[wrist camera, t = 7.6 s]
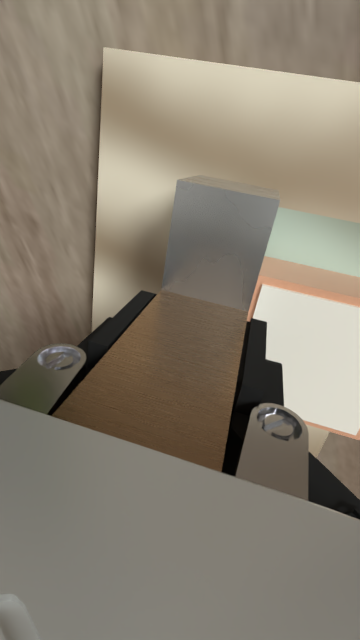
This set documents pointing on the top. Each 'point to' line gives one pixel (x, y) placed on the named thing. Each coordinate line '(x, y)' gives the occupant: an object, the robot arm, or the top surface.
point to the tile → (313, 340)
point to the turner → (185, 329)
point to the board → (221, 165)
